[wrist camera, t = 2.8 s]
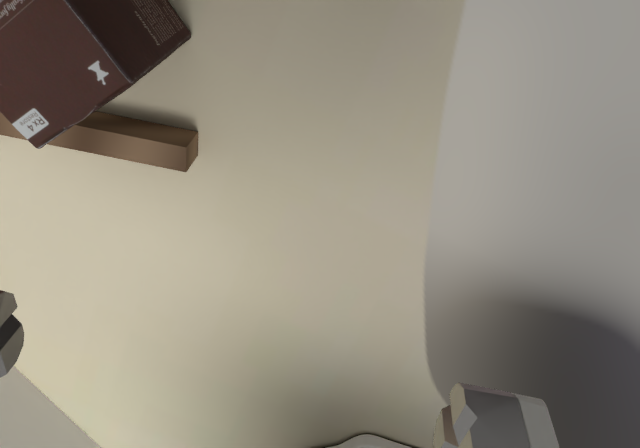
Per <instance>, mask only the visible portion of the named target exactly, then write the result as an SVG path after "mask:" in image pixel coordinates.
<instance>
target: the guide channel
mask: <svg viewBox="0 0 640 448" xmlns="http://www.w3.org/2000/svg"><path fill="white" fill-rule="evenodd" d="M0 135H5V136H10V137H15V138H20V139H25V140H27V139H26V138H25V137H24V136H23V135H22V134H21V133H20V132H19V131H18V130H17V129H16V128H15V127H14V126H13V125H12V124H11V123H10V122H9V121H8V120H7V118H6V117H5V116H4V115H3V114H2V113H1V112H0ZM47 144H49V145H54V146H59V147H64V148H69V149H74V150H79V151H84V152H89V153H94V154H99V155H104V156H109V157H114V158H119V159H124V160H129V161H134V162H139V163H144V164H148V165H153V166H158V167H163V168H168V169H173V170H178V171H183V172H187V170H188V169H189V167H190V166H191V164H192V163H193V161H194V160H195V159H196V157H197V156H198V132H196V131H191V130H186V129H182V128H177V127H172V126H167V125H162V124H157V123H152V122H147V121H142V120H137V119H132V118H127V117H122V116H117V115H112V114H107V113H102V112H97V111H95V112H93V113H92V114H90V115H89V116H87V117H86V118H85V119H84V120H82V121H80V122H78V123H77V124H75V125H74V126H72V127H71V128H70V129H68V130H67V131H65V132H64V133H62V134H60V135H59V136H58V137H56V138H55V139H54V140H52V141H50V142H49V143H47Z"/></svg>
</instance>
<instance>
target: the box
mask: <svg viewBox="0 0 640 448" xmlns="http://www.w3.org/2000/svg"><path fill="white" fill-rule="evenodd" d="M190 38H191V33H190V31H189V30H188V29H187V27H186V26H185V25H184V23H183V22H182V20H181V19H180V17H179V16H178V15H177V13H176V12H175V10H174V9H173V8H172V6H171V5H170V3H169V2H168V1H167V0H0V112H1V113H2V114H3V115H4V116H5V117H6V118H7V120H8V121H9V122H10V123H11V124H12V125H13V126H14V127H15V128H16V129H17V130H18V131H19V132H20V133H21V134H22V135H23V136H24V137H25V138H26V139H27V140H28V141H29V142H30V143H32V144H33V145H34V146H35V147H36V148H38V149H39V148H42V147H43V146H44V145H46V144H47V143H49V142H50V141H52V140H54V139H55V138H56V137H58V136H59V135H60V134H62V133H64V132H65V131H67V130H68V129H70V128H71V127H72V126H74V125H75V124H77V123H78V122H80V121H82V120H84V119H85V118H86V117H87V116H89V115H90V114H92V113H93V112H95V111H96V110H97V109H99V108H100V107H102V106H103V105H105V104H106V103H108V102H109V101H111V100H112V99H114V98H115V97H117V96H118V95H120V94H121V93H123V92H124V91H125V90H127V89H128V88H130V87H131V86H132V85H133V84H135V83H136V82H137V81H138V80H139V79H140V78H142V77H143V76H145V75H146V74H147V73H148V72H150V71H151V70H152V69H154V68H155V67H156V66H157V65H158V64H160V63H161V62H162V61H163V60H165V59H166V58H167V57H168V56H169V55H171V54H172V53H173V52H174V51H175V50H176V49H178V48H179V47H180V46H181V45H182V44H184V43H185V42H186V41H188V40H189V39H190Z"/></svg>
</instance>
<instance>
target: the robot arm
mask: <svg viewBox="0 0 640 448" xmlns="http://www.w3.org/2000/svg"><path fill="white" fill-rule="evenodd" d="M16 308H17V304H16V301H15V298H14V295H13V294H12V293H8V292H5V291H0V378H1V377H3V376H4V375H6V374H7V373H8V372H9V371H10V369H11V368H12V367H13V365H14V364H15V363H16V361H17V359H18V357H19V354H20V352H21V350H22V347H23V342H24V331H23V326H22V324H21V323H20V322H19V321H18V320H17V319H16V318H15V317H14V316H13V315H12V313H13V312H14V311H15V309H16ZM449 396H450V404H451V405H449V406H447V407H445V408H443V409H442V410H441V412H440V414H439V416H438V418H437V421H436V426H435V430H434V439H433V448H560V447H559V444H558V440H557V438H556V434H555V431H554V428H553V424H552V422H551V418H550V415H549V412H548V409H547V406H546V404H545V403H544V401H543V400H542V399H538V398H533V397H529V396H523V395H518V394H512V393H511V392H506V391H501V390H496V389H490V388H485V387H480V386H474V385H469V384H464V383H457V384H456V385H455V386H454V387H453V389H452V391H451V392H450V394H449ZM327 448H411V447H408V446H405V445H402V444H399V443H396V442H393V441H390V440H387V439H384V438H381V437H378V436H374V435H369V434H365V435H359V436H356V437H354V438H352V439H350V440H348V441H346V442H344V443H342V444H340V445H337V446H332V447H327Z"/></svg>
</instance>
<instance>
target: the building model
mask: <svg viewBox="0 0 640 448" xmlns="http://www.w3.org/2000/svg"><path fill="white" fill-rule="evenodd" d="M0 448H101V447H100V446H99V445H98V444H97V443H96V442H95V441H94V440H92V439H91V438H90V437H89V436H88V435H87V434H86V433H85V432H84V431H83V430H82V429H81V428H80V427H79V426H78V425H76V424H75V423H74V422H73V421H72V420H71V419H70V418H69V417H68V416H67V415H66V414H65V413H64V412H63V411H62V410H60V409H59V408H58V407H57V406H56V405H55V404H54V403H53V402H52V401H51V400H50V399H49V398H48V397H47V396H46V395H45V394H43V393H42V392H41V391H40V390H39V389H38V388H37V387H36V386H35V385H34V384H33V383H32V382H31V381H30V380H29V379H27V378H26V377H25V376H24V375H23V374H22V373H21V372H20V371H19V370H18V369H17V368H16V367H15V366H14V365H13V367H12V368H11V369H10V371H9V372H8V373H7V374H6V375H4V376H3V377H1V378H0Z"/></svg>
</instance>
